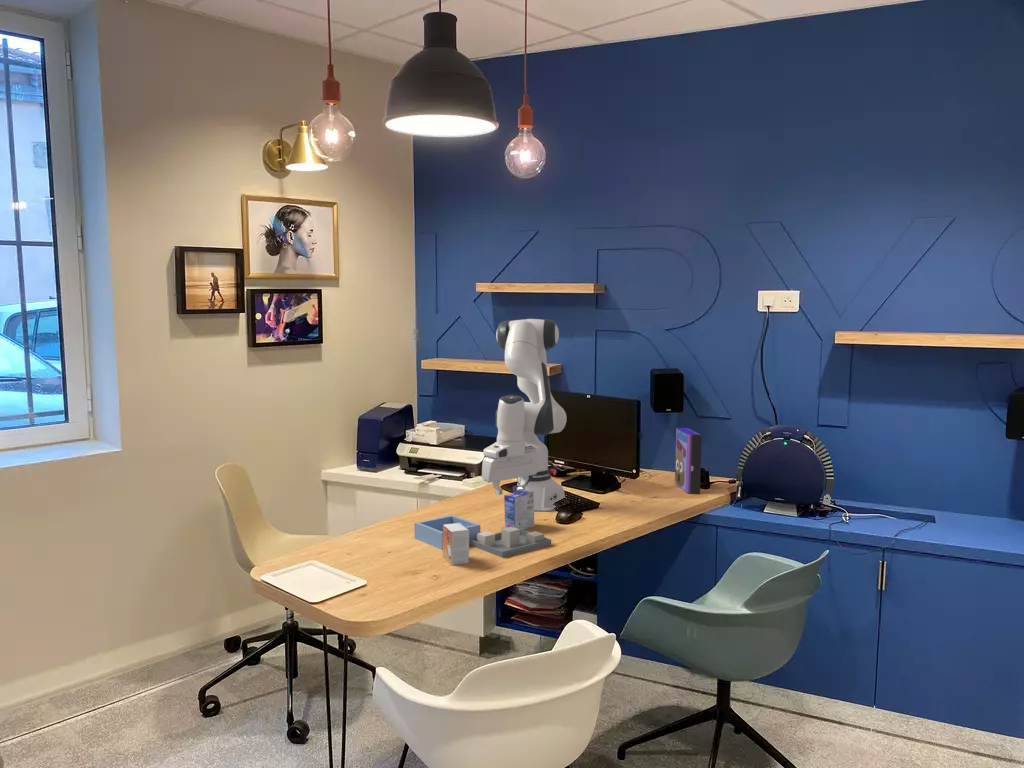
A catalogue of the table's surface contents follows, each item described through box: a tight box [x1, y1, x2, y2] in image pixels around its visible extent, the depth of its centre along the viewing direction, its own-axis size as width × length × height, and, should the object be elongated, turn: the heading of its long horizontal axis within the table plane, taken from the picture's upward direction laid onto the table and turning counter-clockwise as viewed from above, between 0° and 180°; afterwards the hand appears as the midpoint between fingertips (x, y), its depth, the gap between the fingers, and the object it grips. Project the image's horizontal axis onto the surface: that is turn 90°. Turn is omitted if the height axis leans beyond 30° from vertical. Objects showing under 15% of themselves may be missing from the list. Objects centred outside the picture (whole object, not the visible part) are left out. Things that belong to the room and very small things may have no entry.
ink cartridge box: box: [503, 485, 535, 530], centre depth 272 cm, size 10×6×14 cm, turn 137°
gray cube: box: [526, 530, 545, 545], centre depth 253 cm, size 4×4×4 cm
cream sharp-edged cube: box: [477, 531, 495, 546], centre depth 253 cm, size 4×4×4 cm
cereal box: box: [674, 427, 703, 495], centre depth 330 cm, size 17×5×24 cm, turn 6°
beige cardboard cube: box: [501, 527, 520, 547], centre depth 253 cm, size 4×4×5 cm
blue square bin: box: [414, 514, 481, 551], centre depth 258 cm, size 15×15×6 cm
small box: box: [442, 523, 470, 567], centre depth 238 cm, size 8×6×10 cm
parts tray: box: [469, 528, 552, 559], centre depth 253 cm, size 20×16×2 cm
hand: (510, 492), depth 251 cm, fingers open, 8 cm apart
